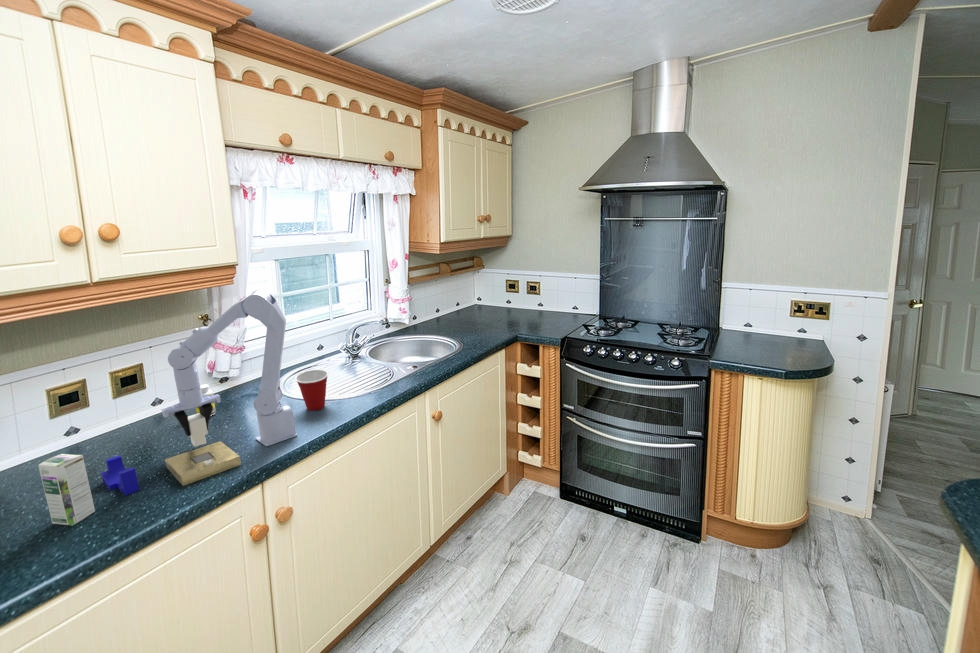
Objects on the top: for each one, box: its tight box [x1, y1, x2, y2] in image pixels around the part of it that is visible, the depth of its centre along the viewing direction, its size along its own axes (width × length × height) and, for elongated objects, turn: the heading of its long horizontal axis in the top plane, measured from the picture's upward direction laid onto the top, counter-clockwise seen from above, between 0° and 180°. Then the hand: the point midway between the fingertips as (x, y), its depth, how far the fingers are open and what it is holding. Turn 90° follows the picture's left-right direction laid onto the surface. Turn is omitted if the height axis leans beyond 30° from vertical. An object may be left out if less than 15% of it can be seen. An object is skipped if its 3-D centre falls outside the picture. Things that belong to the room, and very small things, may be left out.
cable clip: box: [100, 454, 140, 496], centre depth 128 cm, size 12×4×6 cm, turn 50°
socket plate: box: [164, 441, 242, 487], centre depth 137 cm, size 14×14×3 cm
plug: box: [188, 413, 209, 447], centre depth 147 cm, size 4×5×8 cm
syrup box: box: [37, 453, 96, 527], centre depth 114 cm, size 6×6×14 cm
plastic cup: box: [294, 368, 329, 412], centre depth 174 cm, size 11×11×12 cm
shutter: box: [192, 453, 213, 463], centre depth 137 cm, size 4×4×1 cm
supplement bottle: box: [195, 384, 217, 417], centre depth 171 cm, size 6×6×10 cm
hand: (197, 432), depth 147 cm, fingers closed on plug, 4 cm apart
